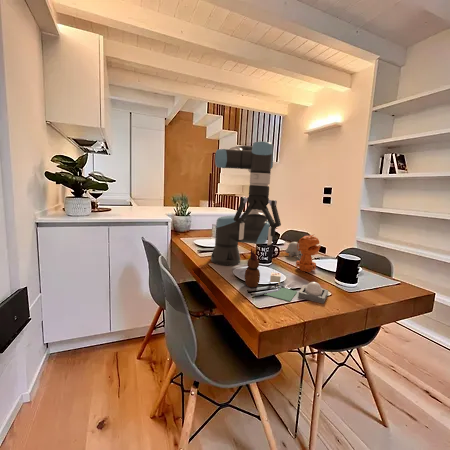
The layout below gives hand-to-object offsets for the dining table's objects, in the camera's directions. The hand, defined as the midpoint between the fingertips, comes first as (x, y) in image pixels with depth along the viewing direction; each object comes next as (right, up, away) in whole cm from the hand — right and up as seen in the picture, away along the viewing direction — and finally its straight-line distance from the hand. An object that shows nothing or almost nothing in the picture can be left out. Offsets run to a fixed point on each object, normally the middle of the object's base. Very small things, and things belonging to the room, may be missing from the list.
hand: (254, 241), depth 103 cm
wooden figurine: (-1, -18, +3) cm, 18 cm away
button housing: (+21, -20, -3) cm, 30 cm away
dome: (+21, -21, -3) cm, 30 cm away
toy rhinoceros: (+28, -12, +48) cm, 57 cm away
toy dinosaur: (+28, -16, +27) cm, 42 cm away
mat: (+9, -19, -3) cm, 22 cm away
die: (+9, -18, +7) cm, 21 cm away
